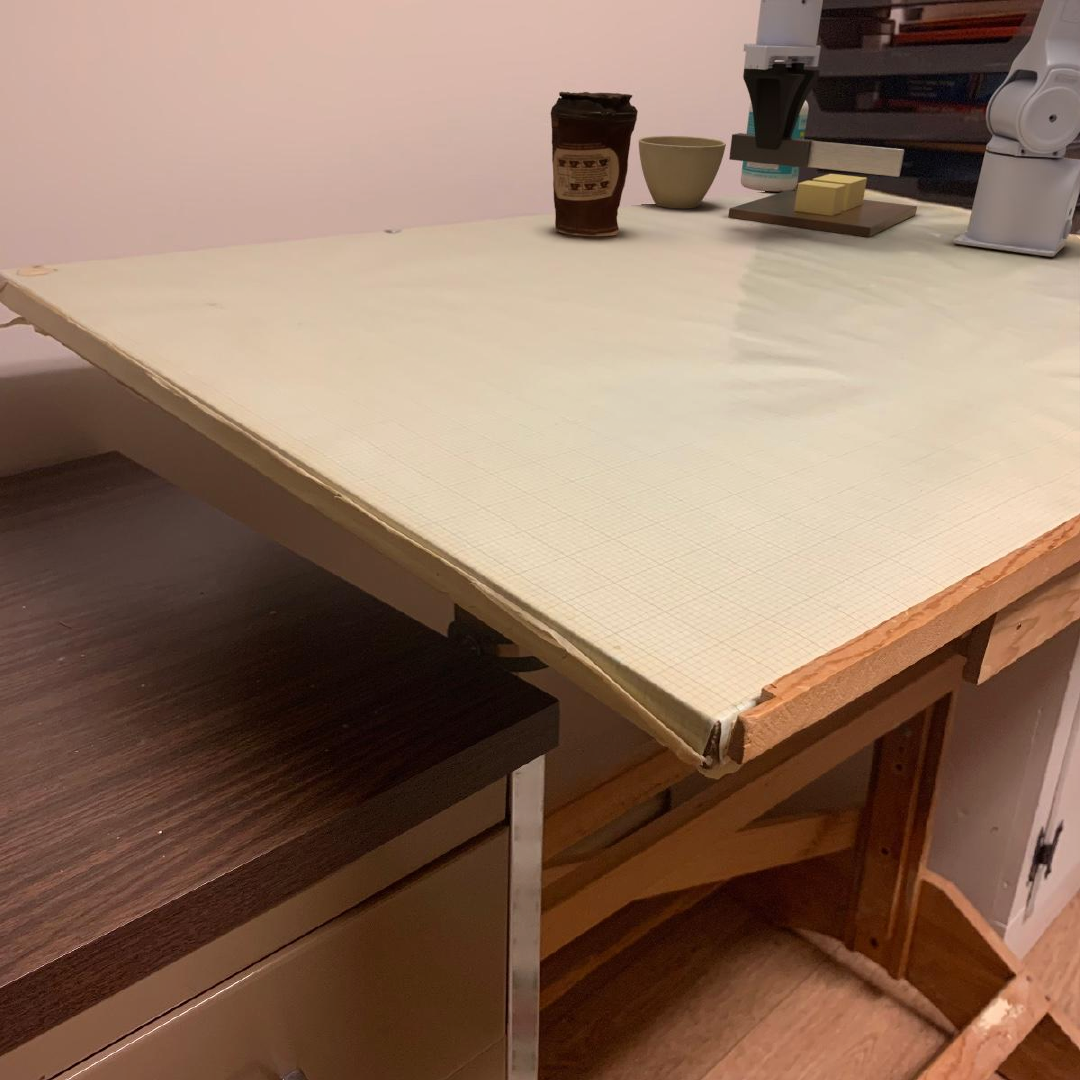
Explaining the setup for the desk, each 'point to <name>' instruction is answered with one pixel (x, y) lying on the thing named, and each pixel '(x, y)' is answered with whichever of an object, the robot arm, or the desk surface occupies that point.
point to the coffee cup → (590, 160)
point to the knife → (819, 155)
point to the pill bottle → (771, 174)
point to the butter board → (852, 221)
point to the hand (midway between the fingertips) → (771, 147)
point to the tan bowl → (680, 168)
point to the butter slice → (819, 198)
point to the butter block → (847, 188)
